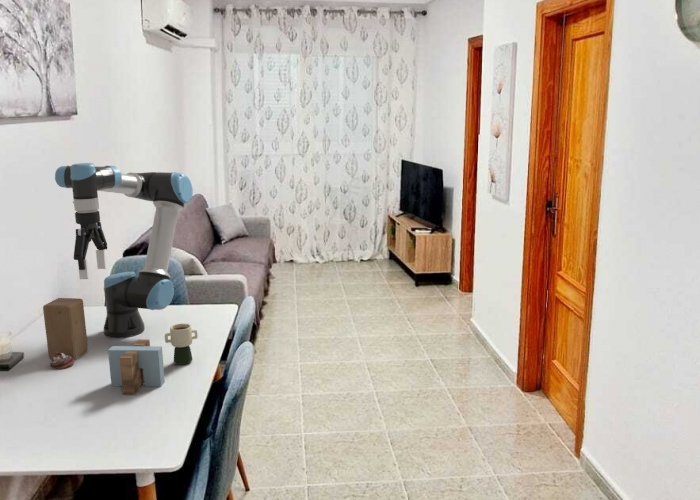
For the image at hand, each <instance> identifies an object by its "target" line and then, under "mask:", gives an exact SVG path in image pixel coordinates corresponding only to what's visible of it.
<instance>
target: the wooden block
mask: <svg viewBox="0 0 700 500" xmlns="http://www.w3.org/2000/svg"><path fill="white" fill-rule="evenodd" d="M42 311H43V312H42V313H43V319H44V320H43V321H44V328H45V329H44V330H45V335H46V336H45V337H46V343H47V344H46V346H47V350H48V351H47V352H48V358H49V360H52V358H53V357H54V356H55V355H56V352H60V353H64V355H69V356H71V357H73V358H74V361H75V360H77V359H78V358H79V357H81V356H83V355H84V354H86V353H87V352H88V350H89V347H88V346H89V344H88V335H87V328H86V326H87V325H86V324H87V323H86V318H85V316H86V315H85V307H84V300H83V299H82V298H73V297H72V298H71V297H66V298H65V297H58V298H56V299H54V300H52V301H50V302H48V303H46V304H43V306H42Z"/></svg>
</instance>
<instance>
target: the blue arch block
mask: <svg viewBox="0 0 700 500" xmlns="http://www.w3.org/2000/svg"><path fill="white" fill-rule="evenodd" d="M126 351H132V352H137V354H138V365H139V368H143V371H144V387H162V386H163V385H164V383H165V382H166V381H165V371H164V370H165V369H164V356H163V355H164V354H163V346H161V345H158V346H156V345H154V346H153V345H150V346H133V345H132V346H131V345H121V346H120V345H112V346H111V347H110V348H109V349H108V350H107V352H108V353H107V354H108V363H109V373H110V375H109V376H110V382H111V383H110V385H111V386H112V387H122V378H121V367H120V357H121V356H122V355H123V354H124V353H125V352H126Z"/></svg>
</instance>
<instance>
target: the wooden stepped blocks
mask: <svg viewBox="0 0 700 500" xmlns="http://www.w3.org/2000/svg"><path fill="white" fill-rule="evenodd" d="M150 343H151V340H150V339H148V338H147V339H145V338H139V339H137V341H135V343H134V344H132V346H151V344H150ZM120 367H121V378H122V386H121V387H122V395H123V396H126V395H127V396H128V395H132V396H133V395H136V393H137V392H138V391H140V389H141V388H142V387H143V385H145V383H144V371H143V368H139V365H138V354H137V352H132V351H126V352H125V353H124V354H123V355H122V356H121V357H120Z"/></svg>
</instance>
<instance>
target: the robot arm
mask: <svg viewBox="0 0 700 500" xmlns="http://www.w3.org/2000/svg"><path fill="white" fill-rule="evenodd" d="M54 173H55V174H54V179H55V182H56V184H57V185H58V187H61V188H65V189H72V196H73V197H72V198H73V201H72V203H73V207H74V211H75V212H74V218H75V224H78V225H79V226H80V228H76V229H75V240H74V250H73V260H75V261H77V265H78V274H79V280H89V279H90V275H89V267H88V266H89V265H88V259H87V252H88V248H89V245H90V242H93V245H94V246H95V247H96V249H95V254H96V264H97V266H96V267H97V269H98V270H106V269H107V262H106V261H107V260H106V252H105V250H108V242H107V240H106V236H105V234H104V231H103V227H102V222H101V216H100V215H101V214H100V211H99V209H100V204H99V196H98V195H99V194H98V191H99V192H104V193H105V192H106V193H113V194H114V193H115V194H121V195H124V196H126V197H128V198H133V199H134V198H135V199H139V200H143V201H147V202H152V204H153V205H154V207H155V211H154V218H153V222H152V223H153V224H152V228H151V233H150V237H149V241H148V242H149V243H148V248H147V253H146V256H145V257H146V258H145V263H144V268H142V269H141V270H139V272H138V277H137V276H136V273H135V272H134V271H124V272H117V273H114V274H111V275H107V277H105V278H104V279H103V291H104V298H105V308H106V317H105V320H104V321H105V322H104V324H103V335H104V336H105V337H108V338H115V339H117V338H118V339H120V338H121V339H122V338H128V337H133V336H137V335H139V334H142V333H143V332H144V331H145V322H144V320H143V318H142V315H141V314H140V312H139V309H144V310H145V309H146V310H151V311H161V310H164V309H166V308H167V307H168V306H169V305H170V304H171V303H172V300H173V297H174V295H175V288H174V286H175V285H174V283H173V282H172V280H171V275H170V274H169V273H168V269H169V263H170V259H171V254H172V249H173V242H174V240H175V239H174V237H175V233H176V227H177V221H178V219H179V213H180V212H181V211H183V210H184V207H185V204H187V203H189V202H190V201H191V200H192V197H193V193H194V192H193V191H194V190H193V185H192V182H191V179H190V178H189V176H188V175H186V174H185V173H181V172H161V171H157V172H156V171H150V172H128V173H122V172H121V170H120V169H119V167H117V166H115V165H105V166H96V165H95V164H94V163H93V162H80V163H79V162H78V163H74V164H71V165H61V166H59V167H58V168H57V169H56V170H55V172H54Z"/></svg>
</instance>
